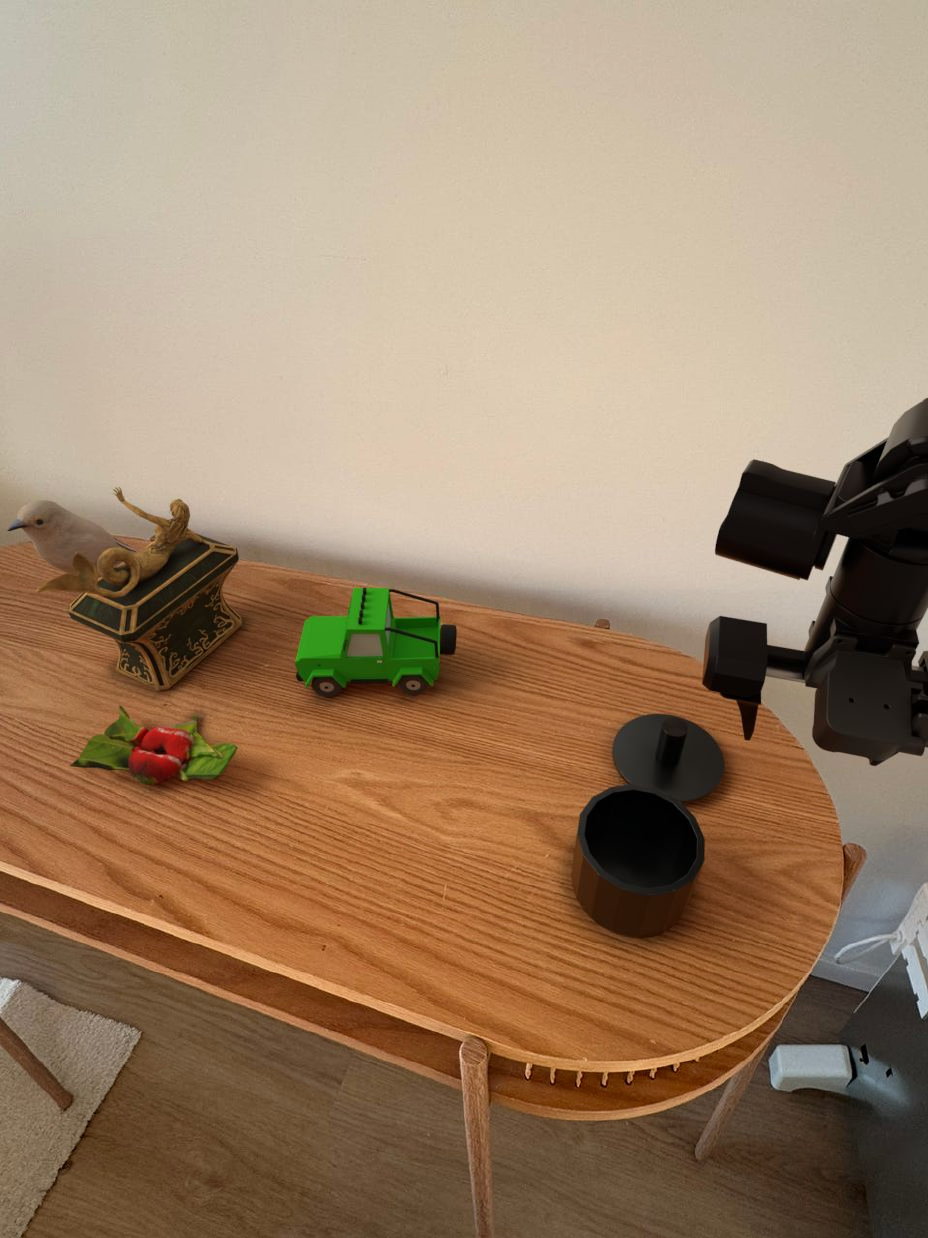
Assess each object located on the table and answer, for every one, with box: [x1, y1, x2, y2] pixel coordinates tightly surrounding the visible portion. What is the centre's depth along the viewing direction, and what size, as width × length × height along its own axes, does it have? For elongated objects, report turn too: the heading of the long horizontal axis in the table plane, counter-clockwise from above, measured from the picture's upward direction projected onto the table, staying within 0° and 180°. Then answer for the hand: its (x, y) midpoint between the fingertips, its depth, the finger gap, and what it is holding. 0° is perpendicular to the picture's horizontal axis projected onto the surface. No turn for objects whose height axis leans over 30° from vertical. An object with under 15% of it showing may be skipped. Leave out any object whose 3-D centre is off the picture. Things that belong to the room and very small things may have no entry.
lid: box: [611, 713, 726, 805], centre depth 70 cm, size 11×11×5 cm
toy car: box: [294, 587, 458, 698], centre depth 79 cm, size 8×17×10 cm, turn 90°
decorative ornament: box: [70, 705, 238, 787], centre depth 72 cm, size 15×5×10 cm
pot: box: [570, 784, 706, 939], centre depth 60 cm, size 10×10×7 cm
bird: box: [6, 499, 138, 579], centre depth 89 cm, size 5×14×15 cm, turn 145°
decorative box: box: [35, 486, 243, 692], centre depth 78 cm, size 20×10×20 cm, turn 151°
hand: (808, 748), depth 57 cm, fingers open, 9 cm apart
